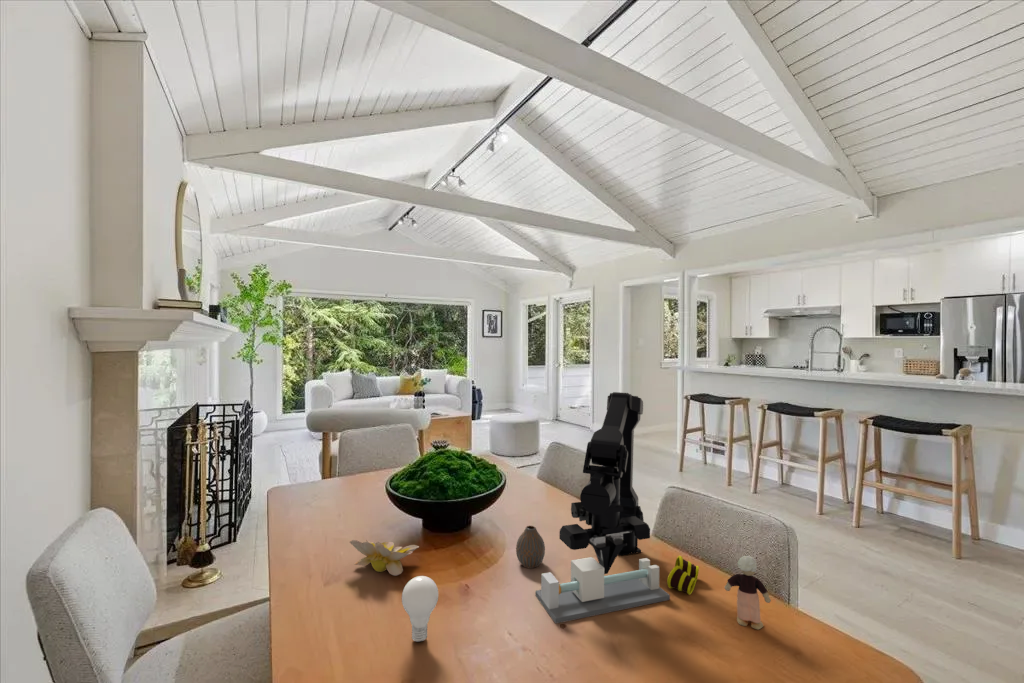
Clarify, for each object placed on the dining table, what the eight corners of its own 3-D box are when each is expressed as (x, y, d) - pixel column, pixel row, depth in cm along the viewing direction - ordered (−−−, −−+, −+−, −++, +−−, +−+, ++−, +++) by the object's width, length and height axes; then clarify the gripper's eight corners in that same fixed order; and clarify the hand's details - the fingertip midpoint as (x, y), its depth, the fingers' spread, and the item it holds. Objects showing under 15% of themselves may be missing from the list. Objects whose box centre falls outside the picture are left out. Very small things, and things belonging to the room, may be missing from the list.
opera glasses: (690, 602, 95) (695, 580, 95) (664, 590, 98) (669, 568, 97) (697, 581, 104) (702, 561, 103) (673, 571, 106) (678, 551, 106)
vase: (542, 572, 104) (543, 534, 105) (513, 569, 106) (513, 531, 106) (546, 559, 111) (546, 523, 111) (518, 555, 113) (519, 520, 113)
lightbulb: (403, 629, 83) (404, 569, 83) (439, 628, 84) (439, 568, 84) (398, 653, 77) (399, 588, 77) (436, 651, 77) (437, 587, 77)
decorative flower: (432, 554, 109) (424, 517, 107) (403, 588, 99) (394, 547, 97) (383, 546, 115) (375, 511, 113) (351, 577, 105) (342, 539, 103)
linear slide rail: (640, 576, 104) (641, 549, 104) (669, 599, 94) (670, 570, 94) (535, 595, 95) (535, 566, 95) (555, 623, 86) (556, 591, 86)
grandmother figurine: (767, 621, 87) (767, 555, 87) (771, 633, 84) (772, 564, 84) (723, 612, 90) (724, 548, 90) (725, 624, 86) (726, 557, 86)
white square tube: (591, 585, 97) (592, 556, 97) (604, 597, 92) (604, 568, 92) (570, 589, 95) (571, 560, 95) (581, 602, 90) (582, 571, 90)
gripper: (622, 482, 106) (621, 550, 105) (548, 490, 99) (547, 562, 99) (652, 498, 95) (651, 573, 95) (572, 508, 89) (571, 588, 89)
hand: (604, 573), depth 95 cm, fingers closed
